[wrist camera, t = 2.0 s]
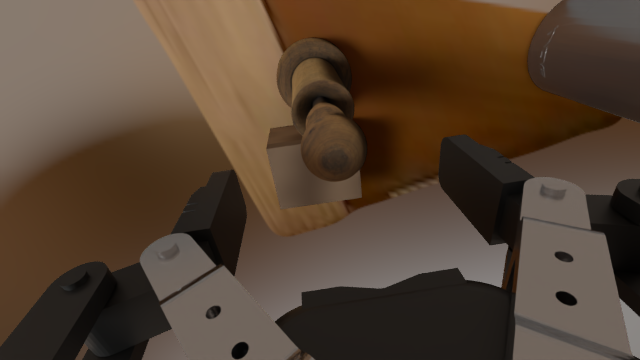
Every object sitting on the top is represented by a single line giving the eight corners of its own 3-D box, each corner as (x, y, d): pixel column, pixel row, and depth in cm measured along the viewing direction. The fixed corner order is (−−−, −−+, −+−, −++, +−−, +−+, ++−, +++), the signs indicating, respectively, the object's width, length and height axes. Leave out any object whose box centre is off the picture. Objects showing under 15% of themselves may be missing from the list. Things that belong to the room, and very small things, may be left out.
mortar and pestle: (277, 108, 29) (259, 223, 14) (276, 35, 26) (251, 77, 10) (344, 110, 30) (399, 223, 14) (352, 39, 27) (433, 85, 11)
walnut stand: (348, 117, 30) (357, 135, 26) (352, 173, 33) (361, 197, 29) (270, 128, 30) (266, 149, 26) (282, 183, 33) (280, 209, 29)
